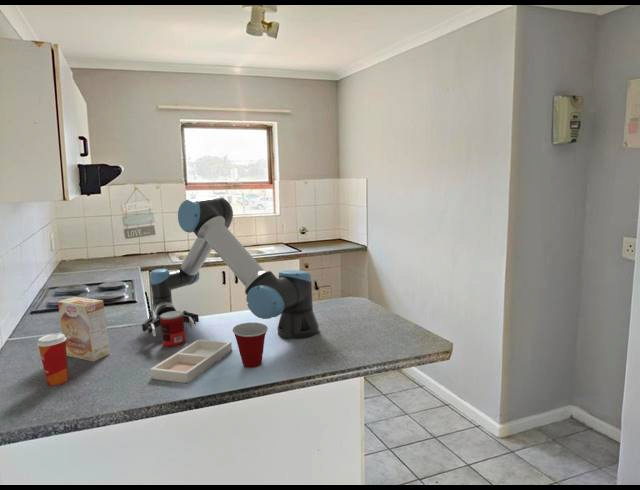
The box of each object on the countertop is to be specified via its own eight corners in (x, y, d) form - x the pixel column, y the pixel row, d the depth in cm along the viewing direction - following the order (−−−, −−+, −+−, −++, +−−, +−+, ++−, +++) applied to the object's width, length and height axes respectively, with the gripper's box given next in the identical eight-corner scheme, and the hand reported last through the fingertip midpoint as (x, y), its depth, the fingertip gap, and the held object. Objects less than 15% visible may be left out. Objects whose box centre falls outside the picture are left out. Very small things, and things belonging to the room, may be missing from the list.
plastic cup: (255, 374, 139) (252, 335, 137) (228, 367, 144) (224, 330, 142) (277, 360, 148) (274, 324, 146) (251, 355, 153) (248, 320, 151)
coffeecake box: (64, 355, 162) (56, 301, 159) (83, 348, 168) (75, 296, 165) (92, 362, 155) (85, 305, 152) (111, 354, 161) (104, 299, 158)
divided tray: (199, 347, 163) (198, 339, 162) (232, 350, 158) (231, 342, 158) (151, 378, 139) (150, 369, 139) (187, 383, 135) (186, 373, 134)
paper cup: (50, 377, 144) (44, 333, 142) (76, 374, 145) (70, 331, 143) (38, 388, 137) (30, 343, 135) (65, 386, 137) (58, 341, 135)
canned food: (189, 339, 171) (186, 310, 170) (180, 347, 164) (177, 317, 162) (168, 339, 172) (165, 310, 170) (159, 347, 164) (156, 317, 163)
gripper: (198, 316, 189) (210, 332, 169) (133, 328, 178) (137, 346, 159) (197, 299, 187) (208, 312, 168) (131, 309, 177) (135, 325, 158)
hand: (174, 328), depth 164 cm, fingers open, 12 cm apart
